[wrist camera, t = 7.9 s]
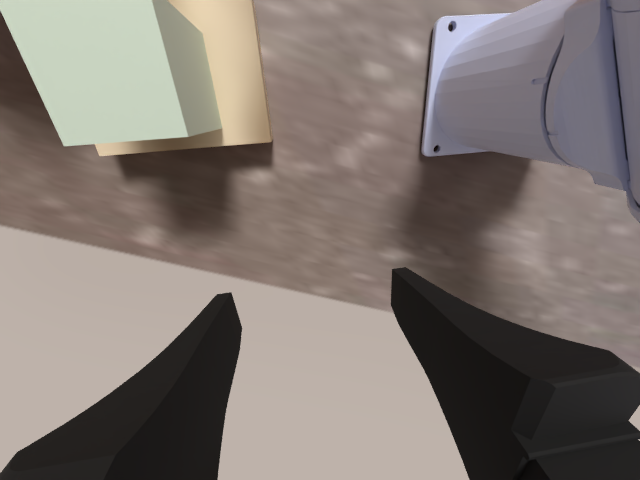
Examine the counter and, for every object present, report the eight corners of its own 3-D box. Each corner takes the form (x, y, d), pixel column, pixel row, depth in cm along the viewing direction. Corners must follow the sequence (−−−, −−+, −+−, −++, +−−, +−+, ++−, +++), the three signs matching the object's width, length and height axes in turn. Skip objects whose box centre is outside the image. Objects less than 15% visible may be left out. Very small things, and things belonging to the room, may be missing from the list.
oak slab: (254, 6, 15) (250, -8, 13) (273, 139, 18) (271, 142, 16) (66, 15, 14) (34, 1, 12) (119, 151, 17) (99, 156, 15)
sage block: (202, 33, 14) (146, -19, 8) (222, 128, 16) (188, 136, 10) (110, 37, 13) (-11, -14, 8) (142, 134, 15) (64, 146, 10)
